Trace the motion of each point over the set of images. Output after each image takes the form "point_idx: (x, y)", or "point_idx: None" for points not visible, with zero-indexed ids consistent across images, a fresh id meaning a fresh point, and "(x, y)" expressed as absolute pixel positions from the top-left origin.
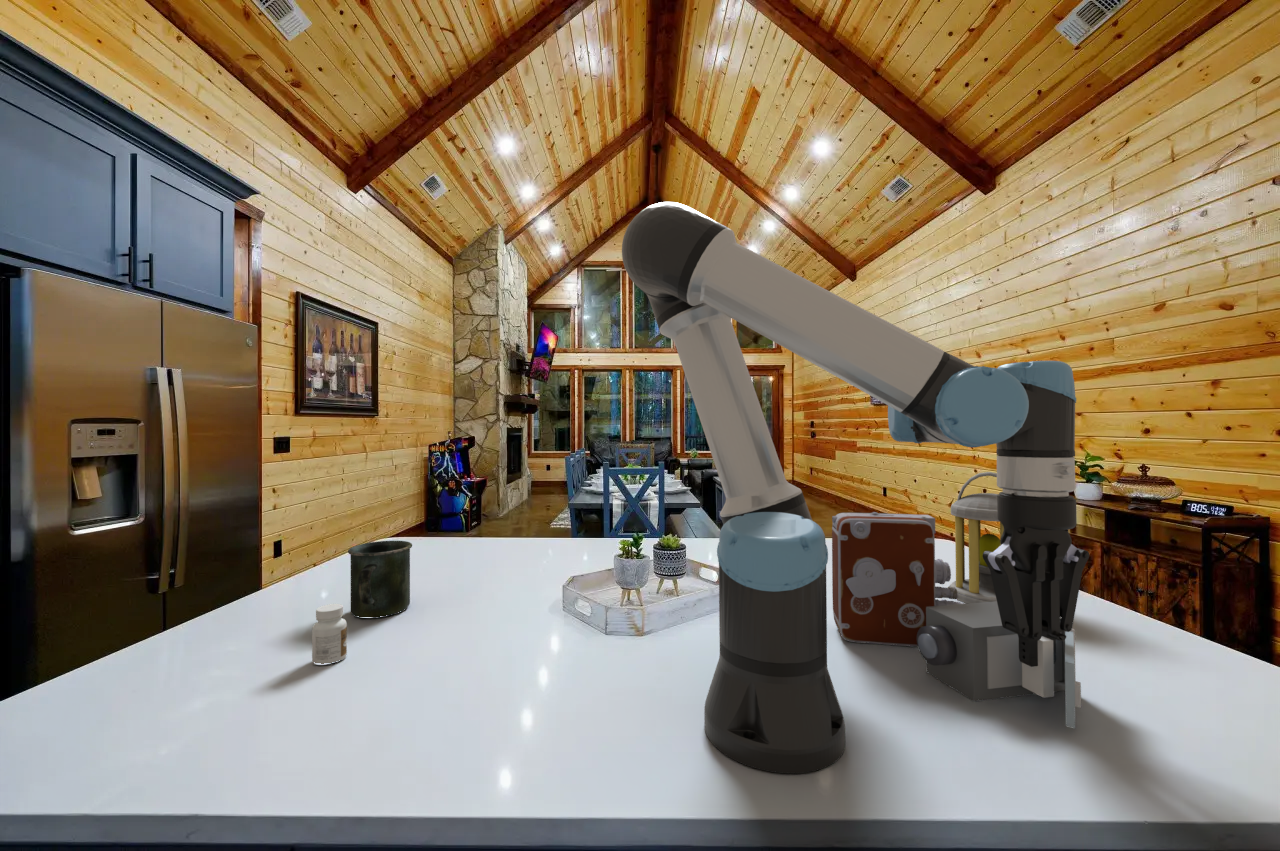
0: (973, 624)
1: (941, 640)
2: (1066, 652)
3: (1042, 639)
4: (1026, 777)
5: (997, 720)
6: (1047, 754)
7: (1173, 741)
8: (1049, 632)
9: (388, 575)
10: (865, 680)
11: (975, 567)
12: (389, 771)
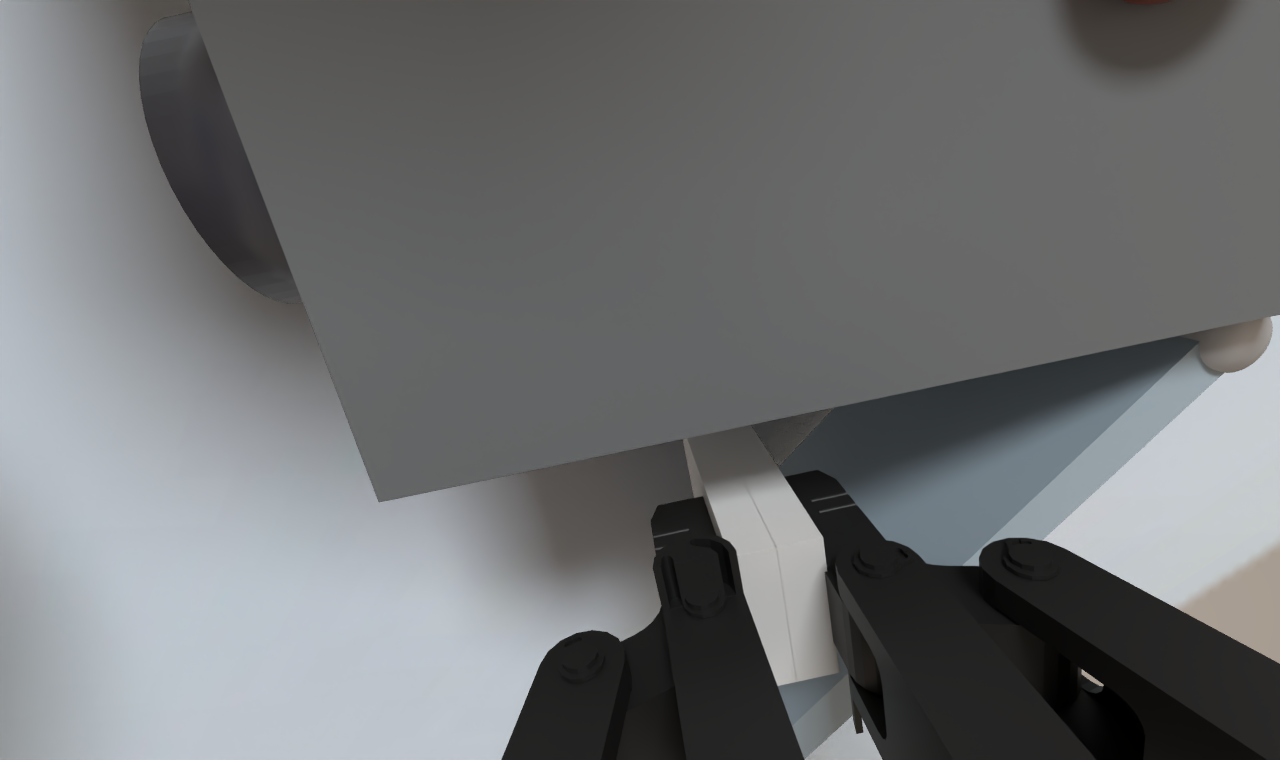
0: (430, 419)
1: (263, 288)
2: (840, 688)
3: (777, 665)
4: (410, 731)
5: None
6: (541, 642)
7: None
8: (854, 688)
9: None
10: (17, 129)
11: None
12: None
